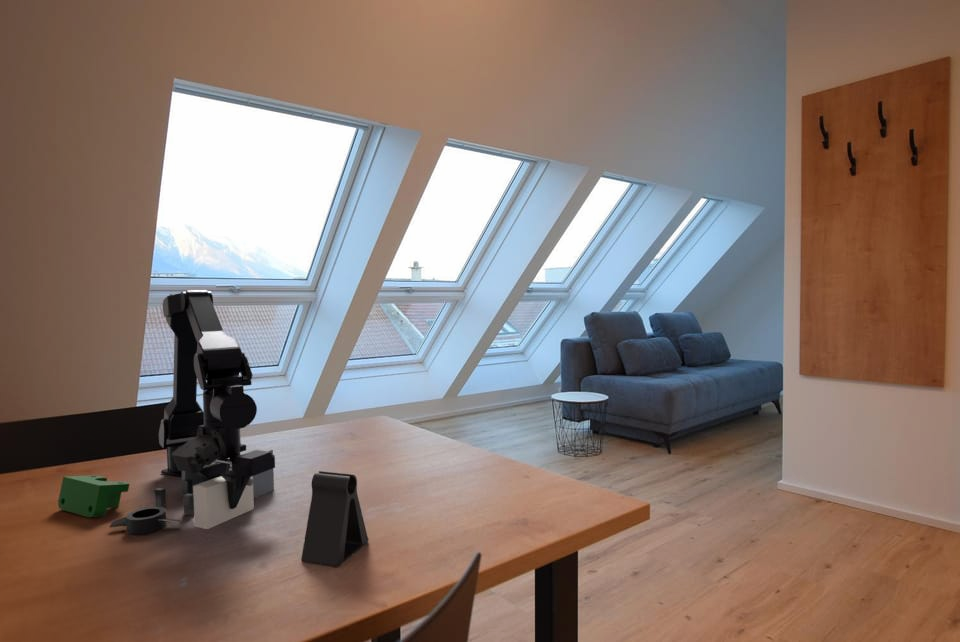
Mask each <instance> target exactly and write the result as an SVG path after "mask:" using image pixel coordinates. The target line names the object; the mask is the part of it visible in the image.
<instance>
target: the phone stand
mask: <svg viewBox="0 0 960 642" xmlns="http://www.w3.org/2000/svg"><path fill="white" fill-rule="evenodd" d="M360 504H361V503H360V499H359V496H358V480H357V477H356V475H355V474H349V473H340V472H339V473H338V472H330V471H323V470H319V471H318V472H315V473H314V474H313V475H312V479H311V499H310V505H309V510H308V518H307V523H306V530H305V534H304V540H303V548H302V553H301V560H300V561H301V562H302V563H308V564H315V565H321V566H328V567H333V568H339V567H340V566H341V565H343V564H344V563H345V562H347V561H348V560H349V559H350V558H351V557H353V555H355V554H356V553H357V552H359V551H360V550H361V549H362V548H363V547H364V546H366V545H368V543H369V537H368V533H367V528H366V524H365V521H364V516H363V512H362V511H363V510H362V508H361V505H360Z"/></svg>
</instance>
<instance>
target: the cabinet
mask: <svg viewBox="0 0 960 642" xmlns="http://www.w3.org/2000/svg"><path fill="white" fill-rule="evenodd" d="M254 450H260V451H267V452H271V453H272V454H273V455H274V450H273V449H269V448H265V447H264V448H263V447H256V446H251V445H250V446H249V445H246V451H242V452H240V454H241V455H242V454H245V453H248V452H251V451H254ZM227 459H230V458H227ZM229 468H230V465H229V464H227V466H226V472H228V471H229ZM274 474H275V473H274V468H273V469H270V470H268V471H265V472H262V473H260V474H257V475H255V476H253V496H254V499H255V498H258V497H260V496H262V495H266V494H267V493H270V492H272V491H274V490H275V482H274V481H275V480H274V477H275V476H274ZM184 479H191V480H192V493H193V486H194V485H197V484H200V483H202V482H204V481H203V479H202V478H201V476H200V475H198V474H196V473H190V472H188V471H182V476H181V481H182V480H184Z"/></svg>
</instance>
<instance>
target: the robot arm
mask: <svg viewBox="0 0 960 642" xmlns="http://www.w3.org/2000/svg"><path fill="white" fill-rule="evenodd" d="M214 305H215V304H214V297H213V294H212V291H210V290H209V291H208V290H207V289H186V290H185V291H180V293H170V294H169V295H167V296H166V297H165V298H164V299H163V301H162V313H163V317H164V318H165V321H166V323H167V325H168V326H169V327H170V329H171V331H172V332H173V333H174V337H173V338H174V339H173V341H174V342H173V380H172V381H173V382H172V383H173V385H172V386H173V387H172V389H173V390H172V398H171V400H170V401H169V402H168V403H167V405H166V406H165V408H164V409H163V411H164V412H163V418H162V419H161V420H160V425H159V430H158V442H159V445H160V446H161V447H162V448H163V449H166V458H167V459H166V463H167V468H165V469H161V471H160V473H161V474H165V475H172V476H176V477H177V476H178V477H182V471H188V472H190V473H196V474H198V475H200V476H201V478H202V479H203V481H204V482H205V481H208V480H211V479H214V478H216V477H219V476H222V477H223V478H224V479H225V480H226V481H227V490H228V501H229V506H230V509H234V508H236V507H237V505H238V502H239V500H240V498H241V496H242V493H243V491H244V489H245V487H246V485H247V483H248V481H249V479H250V477H251V476H255V475H257V474H260V473H262V472H265V471H268V470H270V469H273V470H274V469H276V456H275V455H274V453H273V454H272V453H271V452H267V451H260V450H254V451H251V452H248V453H245V454H242V455H241V454H240V452H242V451H246V446H247V444H244V443H241V429H244V428H246V427H247V426H250V424H251V423H253V421H254V419H255V417H256V415H257V412H258V408H257V404H256V401H255V400H254V399H253V397H252V396H250V395H249V394H247V393H245V392H244V391H245V390H244V387H248V386H252V379H253V372H252V369H251V367H250V363H249V361H248V357H247V356H246V354H245V352H244V350H242V349H241V347H240V345H239V344H238V342H237V340H236V339H235V338H233V337H231V336H229V335H228V334H226V333H225V332H224V329H223V327H222V326H223V325H222V324H221V322H220V318H219V316H218V314H217V311H216V309H215V307H214ZM198 384H199V388H200V390H202V405H203V406H202V407H203V409H202V407H201V405H200V404H199V402H198V401H197V393H198V392H197V391H198V387H197V386H198ZM227 458H230V459H227ZM227 464H229V465H230V468H229V471H228V472H226V466H227Z"/></svg>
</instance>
